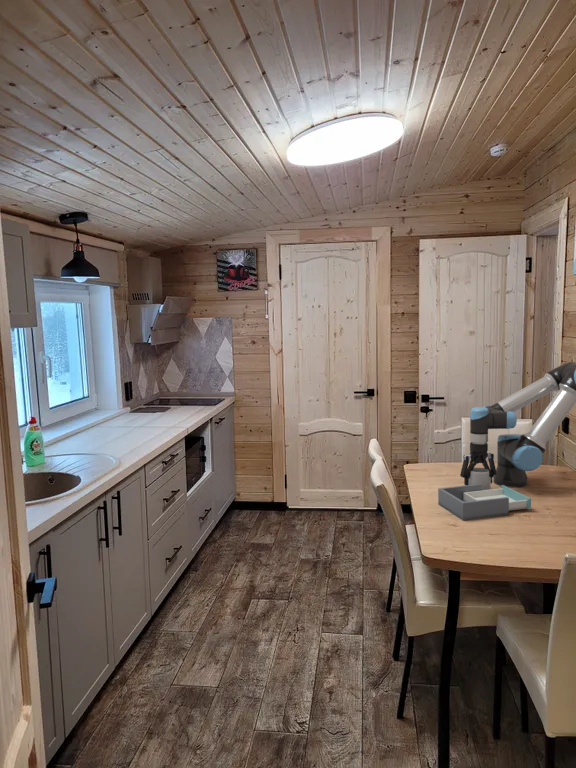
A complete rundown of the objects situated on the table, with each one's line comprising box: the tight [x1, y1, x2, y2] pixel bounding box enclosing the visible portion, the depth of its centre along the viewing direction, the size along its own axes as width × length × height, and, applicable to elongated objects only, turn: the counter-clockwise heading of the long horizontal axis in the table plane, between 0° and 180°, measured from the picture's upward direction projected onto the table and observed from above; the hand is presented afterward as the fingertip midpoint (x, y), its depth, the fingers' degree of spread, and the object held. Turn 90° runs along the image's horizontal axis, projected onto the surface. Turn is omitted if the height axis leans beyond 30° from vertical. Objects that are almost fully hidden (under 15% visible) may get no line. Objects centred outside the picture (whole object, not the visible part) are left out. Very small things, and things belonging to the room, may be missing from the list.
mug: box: [469, 467, 489, 490], centre depth 248 cm, size 12×8×11 cm
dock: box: [437, 484, 510, 521], centre depth 228 cm, size 20×20×7 cm
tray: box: [463, 485, 532, 511], centre depth 230 cm, size 20×19×4 cm
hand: (478, 491), depth 248 cm, fingers closed on mug, 9 cm apart
